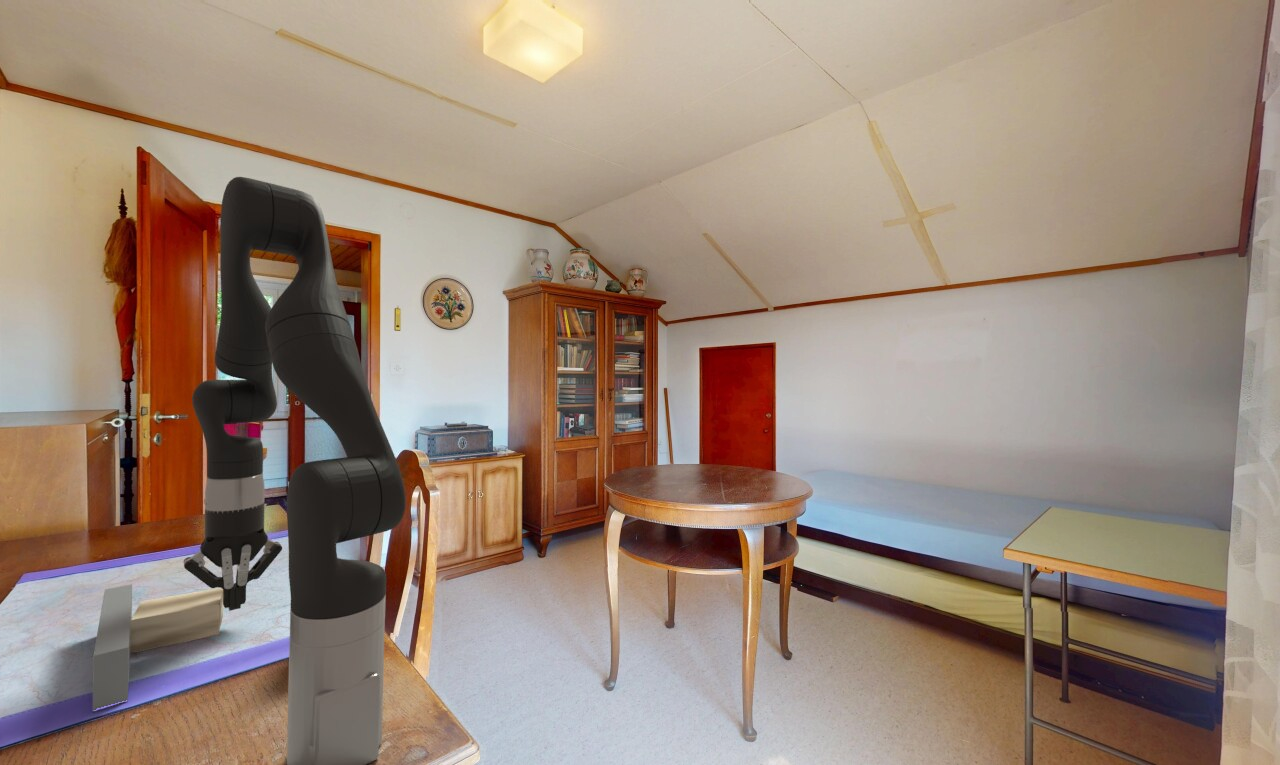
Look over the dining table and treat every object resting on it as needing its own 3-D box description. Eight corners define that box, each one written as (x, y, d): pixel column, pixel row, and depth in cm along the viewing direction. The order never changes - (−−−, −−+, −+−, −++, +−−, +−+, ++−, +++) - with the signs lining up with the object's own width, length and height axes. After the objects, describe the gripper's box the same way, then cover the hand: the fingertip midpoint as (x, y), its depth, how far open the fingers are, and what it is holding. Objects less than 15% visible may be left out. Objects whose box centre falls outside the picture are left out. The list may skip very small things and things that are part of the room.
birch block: (218, 635, 79) (219, 603, 79) (130, 653, 74) (130, 620, 73) (222, 616, 85) (223, 587, 85) (141, 632, 79) (141, 601, 79)
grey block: (127, 701, 63) (128, 647, 63) (92, 712, 61) (93, 655, 61) (131, 627, 80) (132, 584, 80) (104, 633, 78) (104, 589, 78)
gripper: (181, 515, 74) (180, 631, 74) (289, 501, 83) (287, 603, 84) (179, 504, 79) (178, 612, 80) (280, 491, 88) (279, 588, 89)
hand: (234, 607), depth 82 cm, fingers closed
